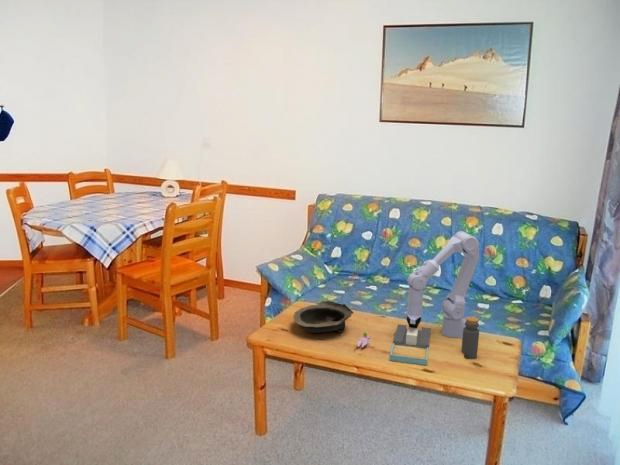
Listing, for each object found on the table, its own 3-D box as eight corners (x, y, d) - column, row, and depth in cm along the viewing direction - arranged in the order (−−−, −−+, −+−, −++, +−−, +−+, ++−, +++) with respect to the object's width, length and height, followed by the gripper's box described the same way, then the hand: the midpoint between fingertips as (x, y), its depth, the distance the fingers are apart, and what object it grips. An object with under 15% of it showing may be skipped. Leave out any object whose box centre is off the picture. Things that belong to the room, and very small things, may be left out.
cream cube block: (417, 337, 222) (418, 328, 221) (416, 341, 218) (417, 332, 217) (407, 336, 223) (408, 327, 222) (406, 340, 219) (407, 330, 218)
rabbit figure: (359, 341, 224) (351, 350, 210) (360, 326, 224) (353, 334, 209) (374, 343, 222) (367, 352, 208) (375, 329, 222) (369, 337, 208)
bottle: (474, 360, 206) (478, 322, 203) (459, 356, 209) (462, 319, 206) (478, 354, 211) (482, 317, 207) (463, 350, 214) (466, 314, 210)
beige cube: (416, 341, 218) (417, 332, 217) (416, 345, 214) (416, 335, 213) (406, 340, 219) (407, 330, 218) (405, 344, 215) (406, 334, 214)
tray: (428, 352, 211) (428, 346, 211) (426, 365, 200) (427, 359, 200) (392, 348, 214) (393, 342, 214) (389, 361, 203) (389, 354, 203)
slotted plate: (430, 334, 228) (430, 328, 228) (428, 352, 211) (428, 345, 211) (397, 330, 232) (397, 324, 231) (392, 348, 215) (393, 340, 214)
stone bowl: (361, 325, 236) (361, 305, 233) (332, 349, 216) (332, 328, 213) (313, 312, 249) (312, 294, 246) (281, 334, 229) (280, 314, 226)
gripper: (406, 296, 228) (404, 326, 231) (403, 307, 215) (401, 339, 218) (423, 297, 227) (421, 328, 230) (421, 309, 213) (419, 342, 216)
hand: (412, 334), depth 223 cm, fingers closed
